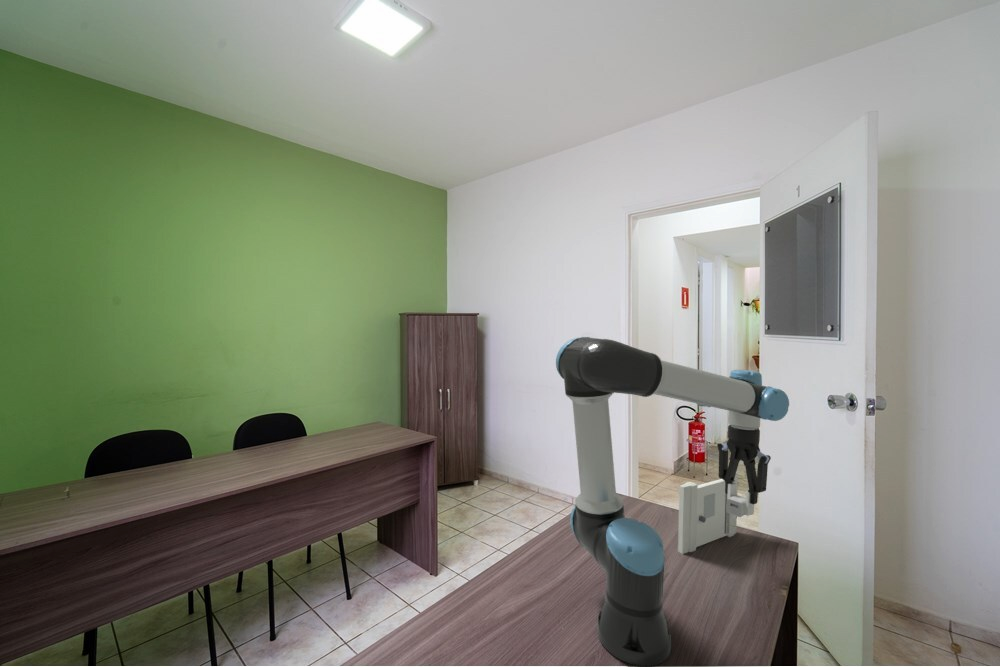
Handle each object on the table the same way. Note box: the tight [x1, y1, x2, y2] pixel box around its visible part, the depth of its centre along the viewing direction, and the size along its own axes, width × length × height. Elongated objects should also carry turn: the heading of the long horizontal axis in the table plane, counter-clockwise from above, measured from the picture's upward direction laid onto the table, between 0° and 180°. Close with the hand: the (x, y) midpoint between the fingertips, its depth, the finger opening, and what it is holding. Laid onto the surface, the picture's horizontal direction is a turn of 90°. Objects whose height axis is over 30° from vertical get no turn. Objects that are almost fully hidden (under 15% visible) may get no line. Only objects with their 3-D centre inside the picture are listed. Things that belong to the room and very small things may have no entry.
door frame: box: [677, 471, 739, 555], centre depth 125 cm, size 26×2×20 cm, turn 118°
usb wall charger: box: [726, 494, 746, 518], centre depth 111 cm, size 4×7×4 cm, turn 127°
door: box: [696, 478, 726, 548], centre depth 125 cm, size 14×3×18 cm, turn 118°
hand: (740, 510), depth 111 cm, fingers closed on usb wall charger, 4 cm apart
